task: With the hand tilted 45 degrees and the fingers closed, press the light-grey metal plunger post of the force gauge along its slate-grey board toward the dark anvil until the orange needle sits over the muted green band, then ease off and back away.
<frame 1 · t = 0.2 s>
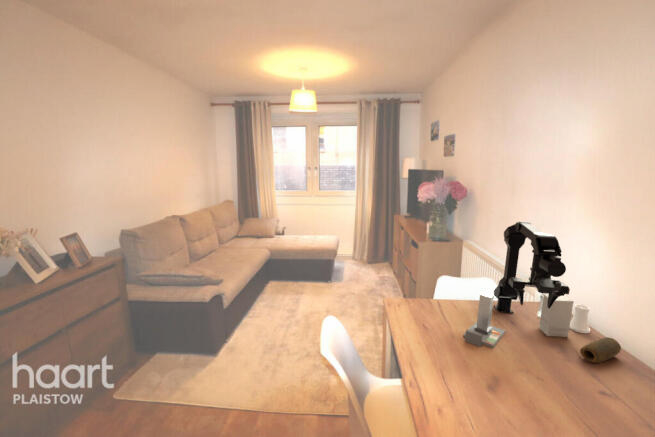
hand: (534, 306, 122), 14 cm above the table, tool pointing down, fingers open, 9 cm apart
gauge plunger: (489, 314, 126), point 9 cm above the table, slide at 0.0 cm
vase: (578, 329, 134), on the table
brown hollow cylinder: (598, 358, 113), on the table
skincare box: (552, 333, 130), on the table
gauge board: (482, 332, 128), on the table
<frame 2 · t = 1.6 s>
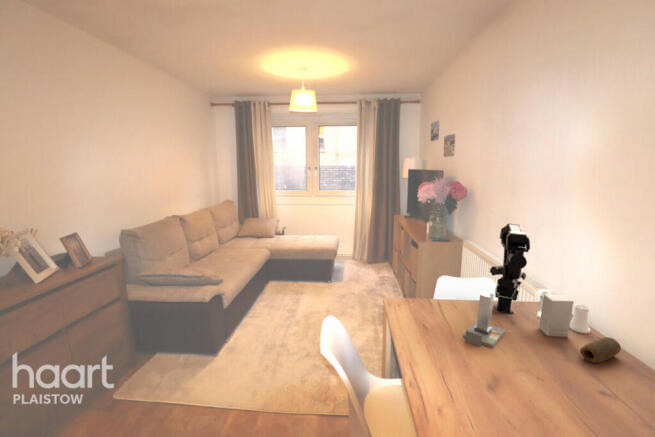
hand: (509, 297, 135), 12 cm above the table, tool pointing down, fingers closed
nothing on the table moved.
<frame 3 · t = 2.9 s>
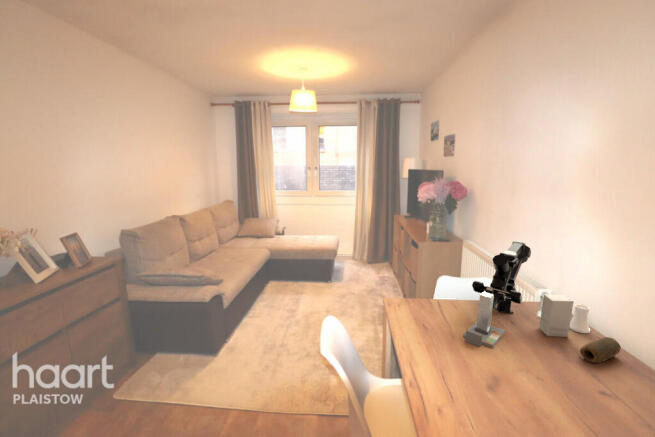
hand: (490, 309, 133), 8 cm above the table, tool tilted 45°, fingers closed
nothing on the table moved.
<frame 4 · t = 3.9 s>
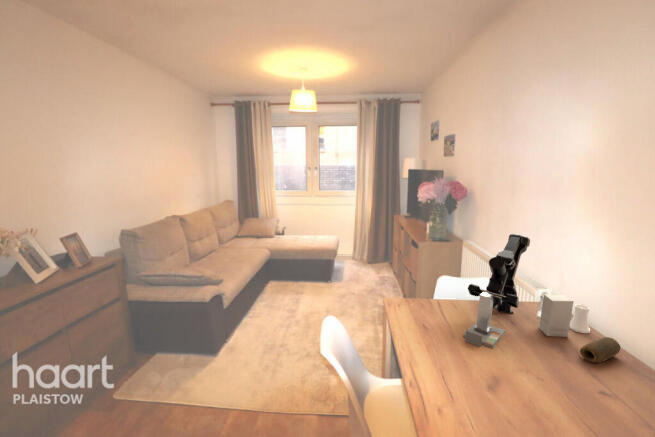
hand: (486, 313, 129), 8 cm above the table, tool tilted 45°, fingers closed, pressing on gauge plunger
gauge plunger: (489, 314, 126), point 9 cm above the table, slide at 0.1 cm, touching gripper
everything else where it was.
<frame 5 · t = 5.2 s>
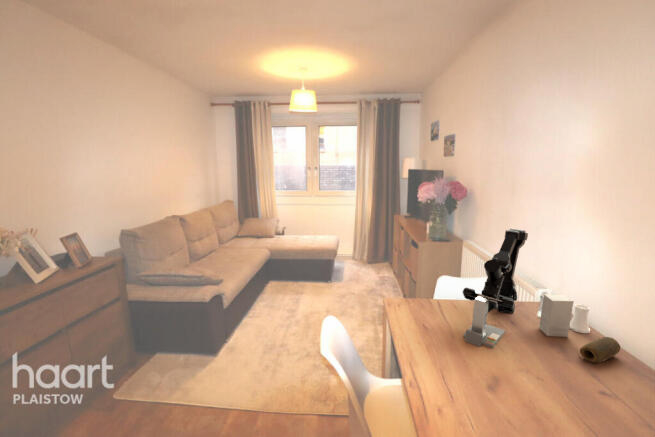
hand: (481, 318, 124), 8 cm above the table, tool tilted 45°, fingers closed
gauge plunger: (484, 319, 121), point 9 cm above the table, slide at 6.1 cm, touching gripper
everything else where it was.
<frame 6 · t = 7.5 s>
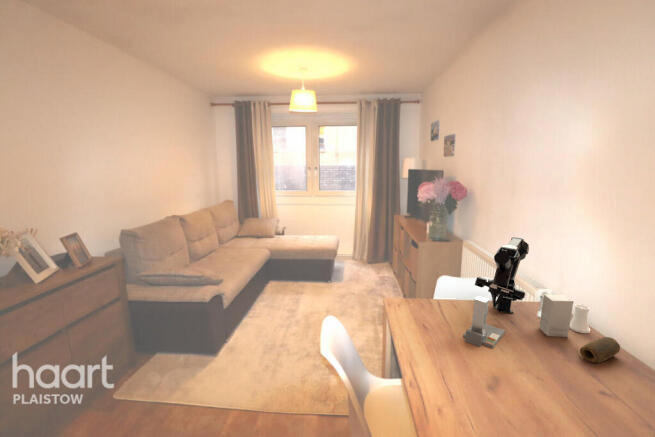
hand: (494, 307, 133), 8 cm above the table, tool tilted 35°, fingers closed
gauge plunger: (484, 319, 121), point 9 cm above the table, slide at 6.1 cm
everything else where it was.
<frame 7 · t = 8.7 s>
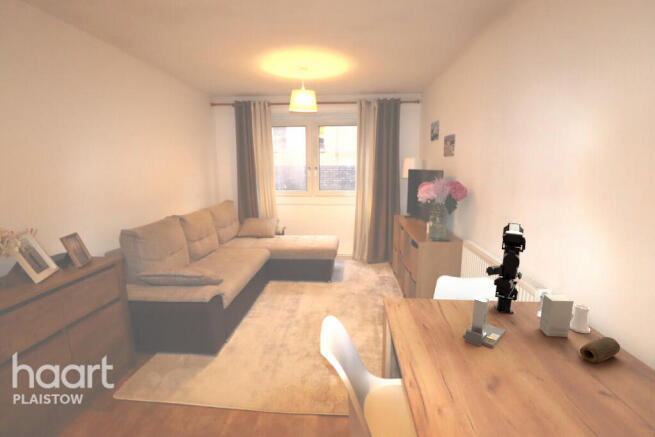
hand: (505, 297, 134), 12 cm above the table, tool pointing down, fingers closed
nothing on the table moved.
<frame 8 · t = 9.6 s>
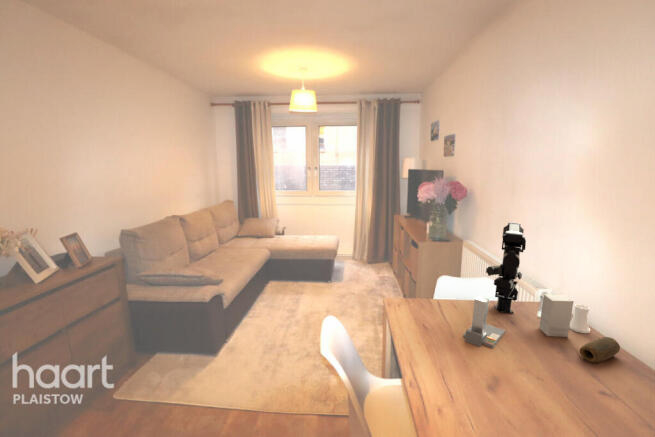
hand: (505, 297, 134), 12 cm above the table, tool pointing down, fingers closed
nothing on the table moved.
at the end: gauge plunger slide at 6.1 cm; skincare box moved 0.2 cm from its start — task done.
